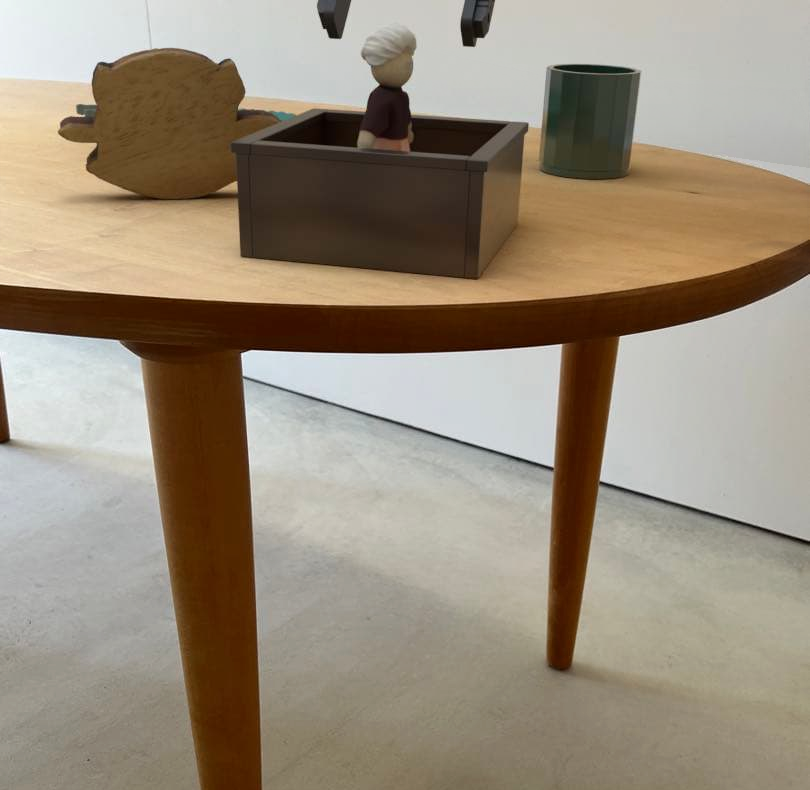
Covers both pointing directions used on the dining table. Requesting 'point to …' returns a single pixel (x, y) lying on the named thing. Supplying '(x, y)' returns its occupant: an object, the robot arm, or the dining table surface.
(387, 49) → the grandmother figurine
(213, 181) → the wooden carving
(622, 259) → the dining table surface
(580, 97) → the cup
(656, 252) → the dining table surface
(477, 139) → the dark wooden storage bin
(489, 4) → the robot arm
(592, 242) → the dining table surface
